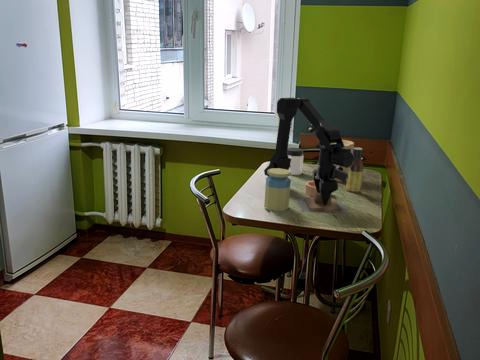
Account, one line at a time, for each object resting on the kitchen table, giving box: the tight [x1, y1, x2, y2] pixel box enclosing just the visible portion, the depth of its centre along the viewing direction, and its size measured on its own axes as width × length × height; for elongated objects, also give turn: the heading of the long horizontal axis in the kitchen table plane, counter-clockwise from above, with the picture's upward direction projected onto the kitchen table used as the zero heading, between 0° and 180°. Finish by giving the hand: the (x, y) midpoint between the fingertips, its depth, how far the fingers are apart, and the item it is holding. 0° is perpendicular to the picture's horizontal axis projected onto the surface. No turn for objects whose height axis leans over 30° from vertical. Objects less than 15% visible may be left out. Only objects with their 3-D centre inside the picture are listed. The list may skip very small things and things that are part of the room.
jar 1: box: [263, 168, 292, 212], centre depth 166 cm, size 9×9×15 cm
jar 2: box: [287, 147, 304, 176], centre depth 218 cm, size 9×8×12 cm
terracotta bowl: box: [304, 180, 317, 198], centre depth 186 cm, size 10×10×5 cm
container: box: [330, 139, 355, 183], centre depth 211 cm, size 13×13×18 cm
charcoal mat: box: [296, 198, 350, 214], centre depth 172 cm, size 18×14×1 cm
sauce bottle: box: [345, 147, 364, 194], centre depth 190 cm, size 6×6×20 cm
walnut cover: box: [303, 193, 341, 212], centre depth 171 cm, size 12×12×5 cm
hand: (322, 200), depth 171 cm, fingers open, 9 cm apart
